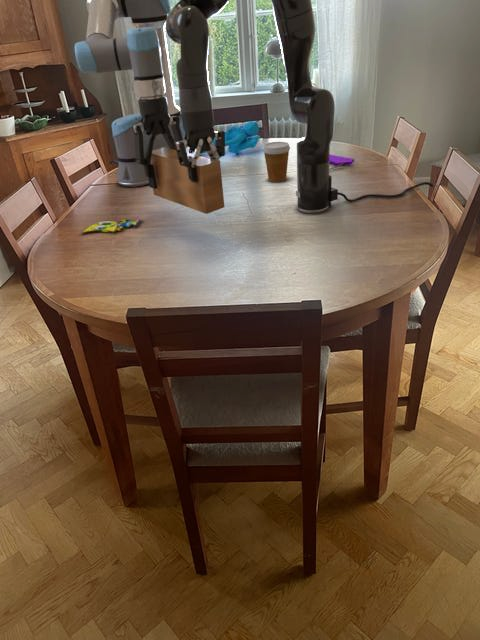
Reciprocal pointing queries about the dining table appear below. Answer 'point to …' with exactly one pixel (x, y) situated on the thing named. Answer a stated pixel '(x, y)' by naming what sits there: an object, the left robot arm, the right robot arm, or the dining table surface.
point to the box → (188, 181)
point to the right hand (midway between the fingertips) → (205, 178)
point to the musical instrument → (340, 160)
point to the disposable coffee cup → (276, 160)
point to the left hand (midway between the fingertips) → (166, 183)
